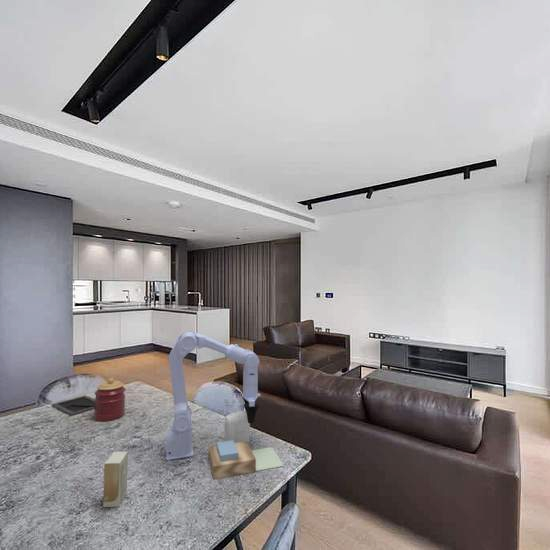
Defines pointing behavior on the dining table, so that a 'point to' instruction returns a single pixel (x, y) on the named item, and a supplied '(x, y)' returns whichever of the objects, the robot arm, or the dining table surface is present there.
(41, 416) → the dining table surface
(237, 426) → the photo printer
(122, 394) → the canister
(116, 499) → the skincare box
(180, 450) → the robot arm
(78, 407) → the picture frame
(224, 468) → the light brown flat block
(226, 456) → the blue box
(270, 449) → the mat
